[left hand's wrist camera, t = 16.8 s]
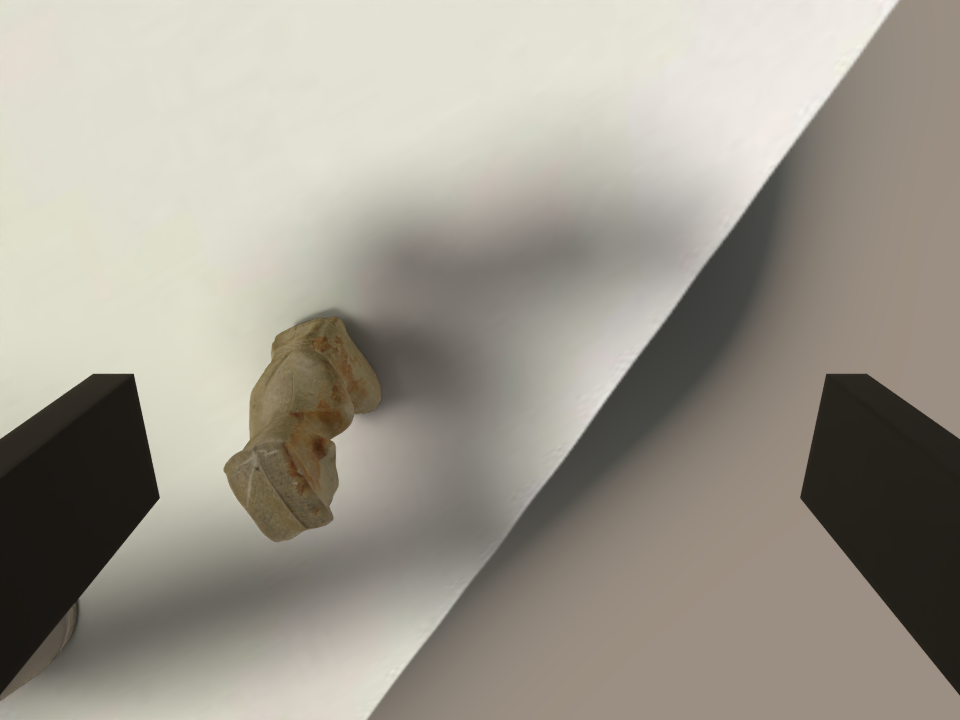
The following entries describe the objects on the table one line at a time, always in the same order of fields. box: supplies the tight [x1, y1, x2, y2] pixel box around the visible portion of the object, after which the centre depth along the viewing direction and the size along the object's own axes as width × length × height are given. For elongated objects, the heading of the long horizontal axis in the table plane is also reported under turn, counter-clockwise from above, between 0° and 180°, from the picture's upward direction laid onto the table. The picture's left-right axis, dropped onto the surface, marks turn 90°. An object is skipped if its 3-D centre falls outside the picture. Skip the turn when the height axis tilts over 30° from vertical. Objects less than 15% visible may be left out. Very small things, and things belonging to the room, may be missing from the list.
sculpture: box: [224, 316, 382, 542], centre depth 36 cm, size 6×7×15 cm
